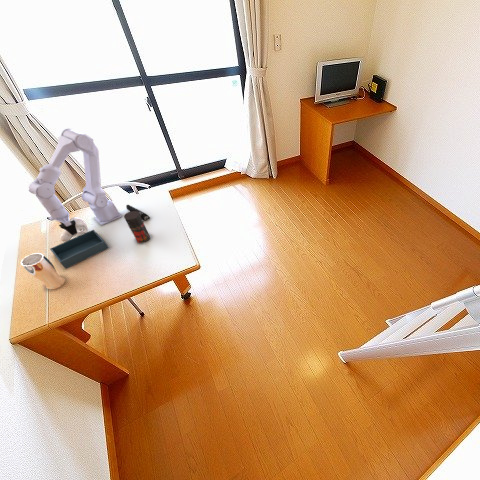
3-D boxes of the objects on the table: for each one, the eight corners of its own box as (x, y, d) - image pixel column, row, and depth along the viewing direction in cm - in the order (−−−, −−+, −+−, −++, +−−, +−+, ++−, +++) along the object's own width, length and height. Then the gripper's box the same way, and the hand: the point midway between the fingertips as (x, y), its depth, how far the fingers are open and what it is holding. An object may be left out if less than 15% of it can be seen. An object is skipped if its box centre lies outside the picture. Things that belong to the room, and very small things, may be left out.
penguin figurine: (82, 217, 129) (58, 235, 122) (93, 229, 136) (71, 247, 128) (72, 213, 130) (48, 230, 123) (83, 225, 137) (60, 242, 130)
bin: (98, 236, 133) (93, 229, 130) (108, 247, 129) (104, 241, 126) (55, 255, 123) (49, 248, 120) (65, 268, 119) (59, 262, 116)
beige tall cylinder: (43, 292, 110) (18, 268, 99) (46, 279, 114) (22, 255, 104) (65, 286, 113) (42, 263, 102) (67, 274, 117) (45, 250, 106)
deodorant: (133, 240, 133) (120, 217, 123) (143, 233, 137) (131, 209, 127) (143, 244, 132) (131, 221, 121) (153, 237, 136) (142, 213, 125)
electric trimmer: (132, 207, 150) (130, 202, 148) (151, 218, 145) (148, 213, 143) (126, 210, 148) (123, 206, 146) (144, 222, 143) (142, 217, 141)
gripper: (36, 203, 120) (54, 226, 130) (49, 218, 114) (67, 241, 124) (56, 196, 124) (72, 219, 134) (69, 211, 119) (85, 234, 128)
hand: (71, 229), depth 129 cm, fingers open, 7 cm apart
